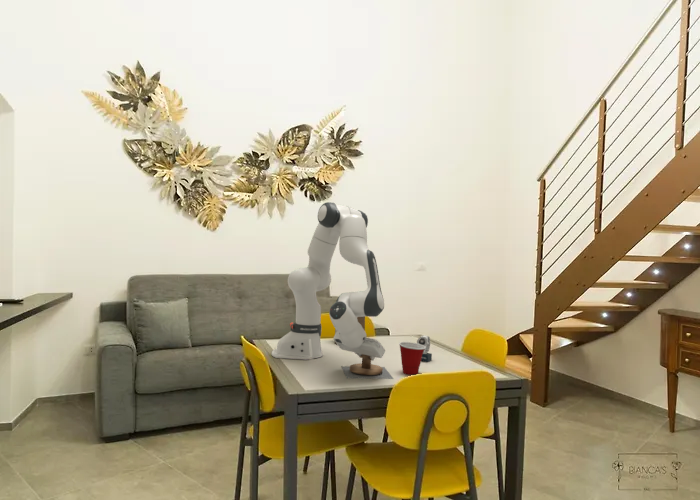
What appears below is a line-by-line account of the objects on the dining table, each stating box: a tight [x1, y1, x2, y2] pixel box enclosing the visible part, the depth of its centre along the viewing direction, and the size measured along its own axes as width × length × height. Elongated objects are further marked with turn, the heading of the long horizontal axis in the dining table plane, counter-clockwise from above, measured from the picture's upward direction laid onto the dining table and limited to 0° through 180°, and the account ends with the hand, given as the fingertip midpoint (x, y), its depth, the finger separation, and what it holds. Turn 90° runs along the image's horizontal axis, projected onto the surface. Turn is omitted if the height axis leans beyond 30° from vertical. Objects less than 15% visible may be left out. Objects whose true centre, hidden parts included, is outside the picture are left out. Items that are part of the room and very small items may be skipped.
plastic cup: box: [398, 341, 426, 376], centre depth 214 cm, size 11×11×12 cm
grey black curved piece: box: [416, 335, 433, 363], centre depth 240 cm, size 6×8×11 cm
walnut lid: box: [349, 354, 383, 375], centre depth 212 cm, size 13×13×8 cm
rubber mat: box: [341, 365, 394, 380], centre depth 212 cm, size 18×18×1 cm
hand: (367, 357), depth 212 cm, fingers closed on walnut lid, 4 cm apart
